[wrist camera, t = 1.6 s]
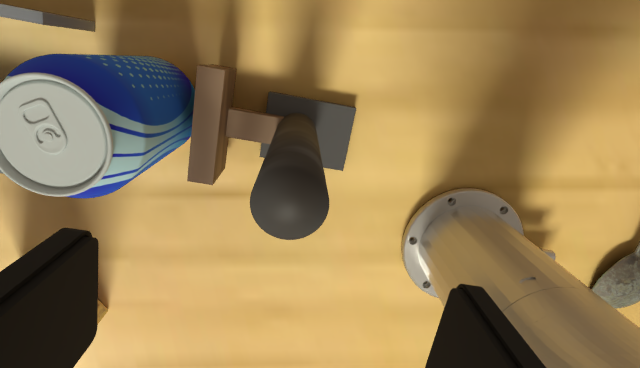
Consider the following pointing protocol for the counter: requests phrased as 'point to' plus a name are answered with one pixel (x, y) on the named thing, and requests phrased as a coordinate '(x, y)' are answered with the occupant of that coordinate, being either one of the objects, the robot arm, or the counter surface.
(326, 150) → the gray rectangular plate
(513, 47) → the counter surface
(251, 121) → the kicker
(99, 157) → the beer can
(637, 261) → the soupspoon
